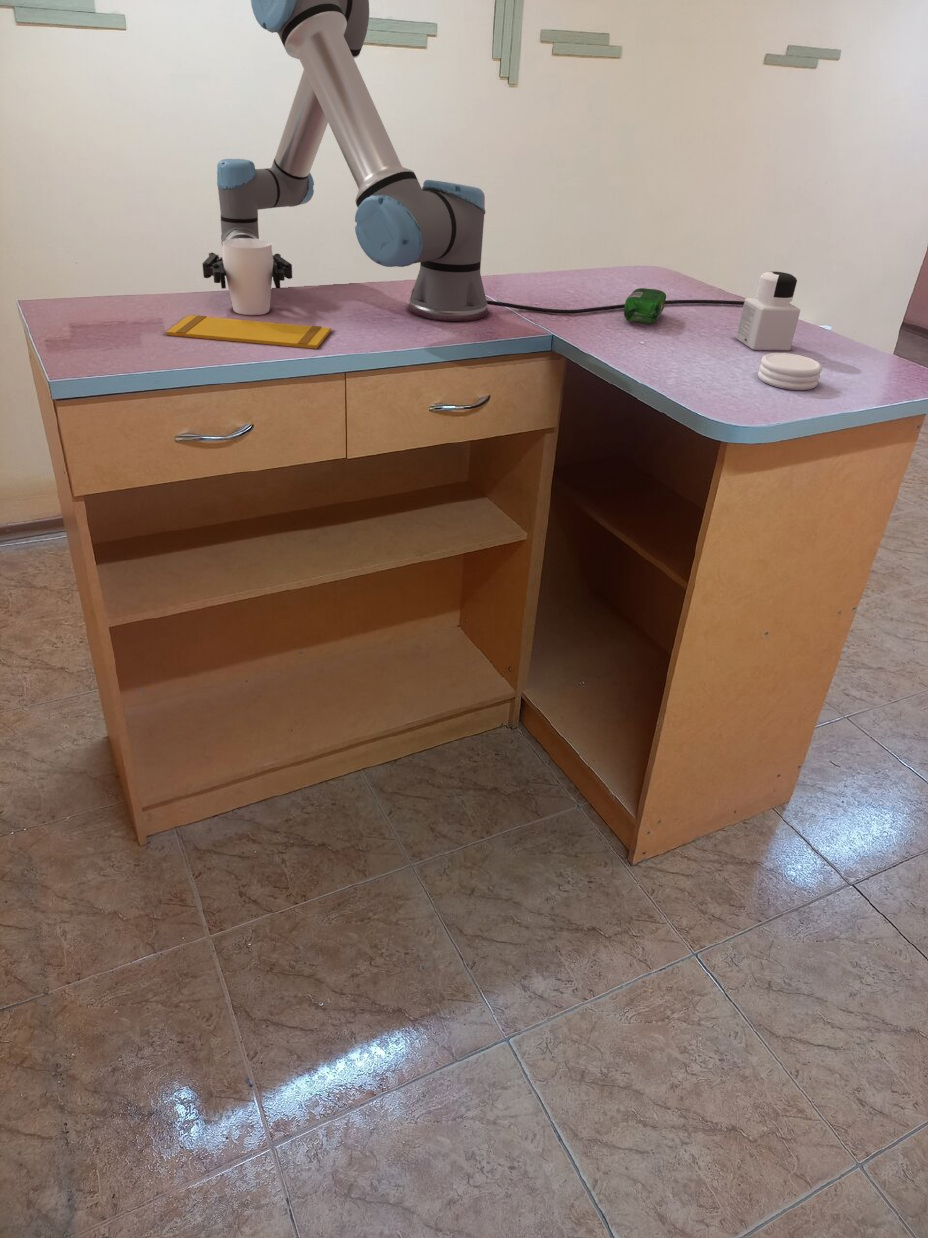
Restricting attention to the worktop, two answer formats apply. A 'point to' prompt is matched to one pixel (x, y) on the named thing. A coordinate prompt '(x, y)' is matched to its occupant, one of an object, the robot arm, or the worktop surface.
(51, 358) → the worktop surface
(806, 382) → the coaster
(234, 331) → the towel
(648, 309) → the snack package
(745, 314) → the container
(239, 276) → the cup
